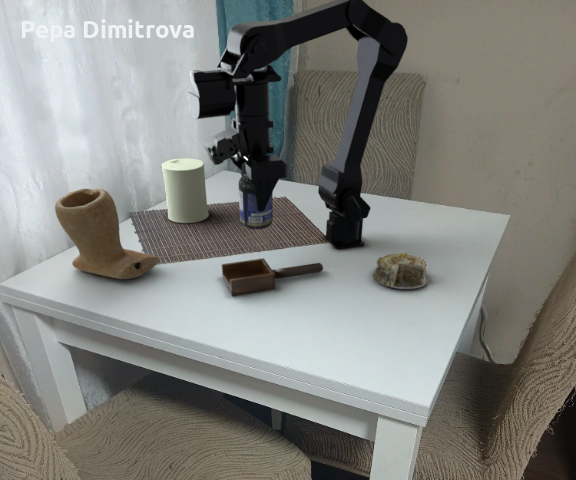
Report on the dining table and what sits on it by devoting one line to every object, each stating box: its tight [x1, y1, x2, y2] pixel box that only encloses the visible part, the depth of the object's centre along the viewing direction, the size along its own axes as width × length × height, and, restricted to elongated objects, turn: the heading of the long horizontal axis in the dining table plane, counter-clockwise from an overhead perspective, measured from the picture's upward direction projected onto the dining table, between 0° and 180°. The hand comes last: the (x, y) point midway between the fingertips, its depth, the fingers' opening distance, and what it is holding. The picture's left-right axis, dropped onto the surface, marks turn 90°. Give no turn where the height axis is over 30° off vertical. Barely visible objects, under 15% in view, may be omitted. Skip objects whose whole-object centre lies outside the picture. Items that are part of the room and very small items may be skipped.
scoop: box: [221, 258, 324, 297], centre depth 104 cm, size 18×7×3 cm, turn 109°
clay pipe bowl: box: [54, 187, 160, 280], centre depth 103 cm, size 15×12×15 cm
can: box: [161, 157, 210, 224], centre depth 127 cm, size 9×9×12 cm
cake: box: [373, 252, 429, 290], centre depth 104 cm, size 10×10×5 cm
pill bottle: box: [238, 161, 274, 230], centre depth 104 cm, size 6×6×11 cm
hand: (255, 204), depth 105 cm, fingers closed on pill bottle, 6 cm apart
